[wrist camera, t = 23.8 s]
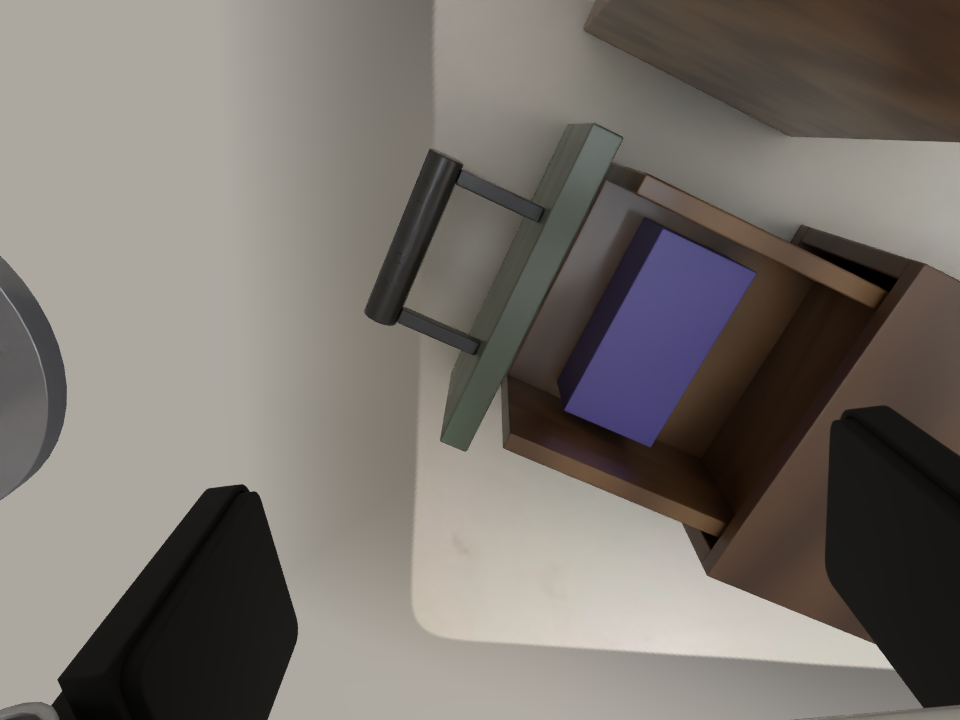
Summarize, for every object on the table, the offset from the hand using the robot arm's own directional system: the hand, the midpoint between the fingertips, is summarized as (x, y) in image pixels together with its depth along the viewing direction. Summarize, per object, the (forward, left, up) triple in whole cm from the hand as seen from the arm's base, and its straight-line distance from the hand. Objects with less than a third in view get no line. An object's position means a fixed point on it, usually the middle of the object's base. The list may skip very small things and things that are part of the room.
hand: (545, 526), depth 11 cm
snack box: (+7, 0, -21) cm, 22 cm away
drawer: (+5, 0, -22) cm, 23 cm away
